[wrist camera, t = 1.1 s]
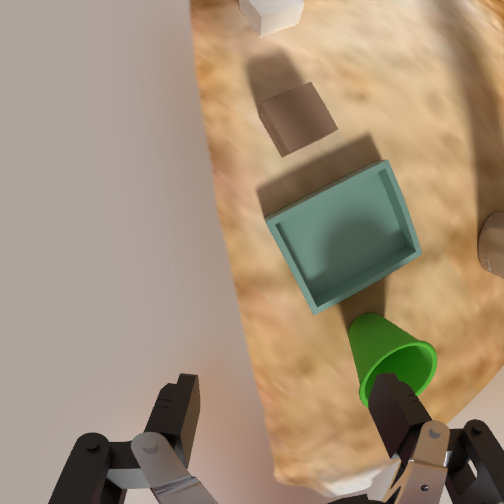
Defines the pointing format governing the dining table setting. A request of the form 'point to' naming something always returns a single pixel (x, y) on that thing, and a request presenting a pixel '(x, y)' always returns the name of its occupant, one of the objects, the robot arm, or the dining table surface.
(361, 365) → the cup
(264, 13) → the cream box
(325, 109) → the walnut block
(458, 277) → the dining table surface
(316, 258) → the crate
